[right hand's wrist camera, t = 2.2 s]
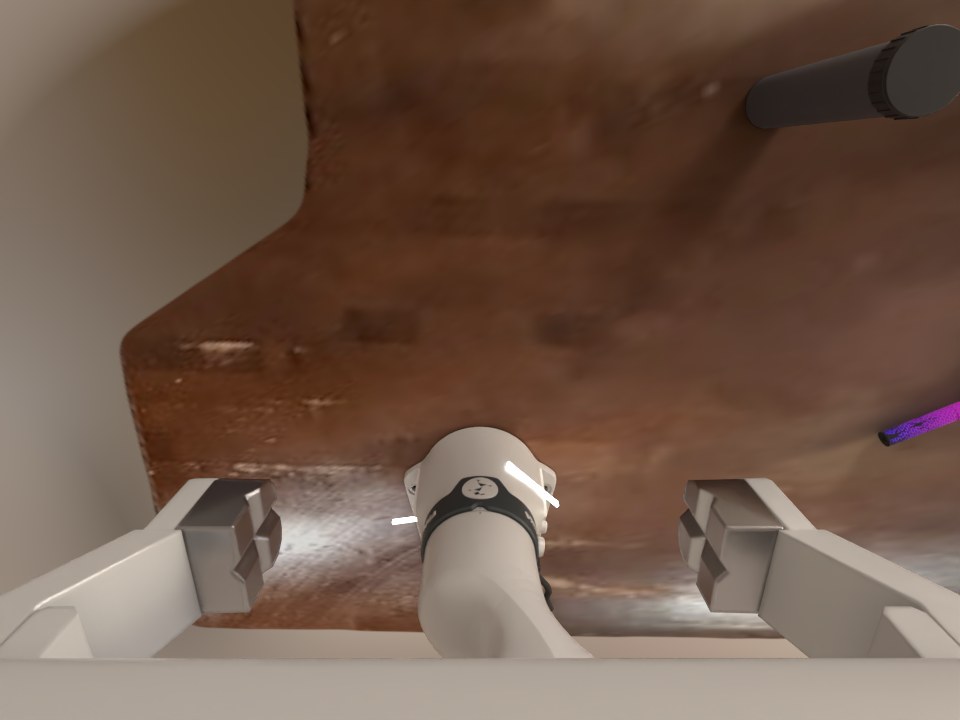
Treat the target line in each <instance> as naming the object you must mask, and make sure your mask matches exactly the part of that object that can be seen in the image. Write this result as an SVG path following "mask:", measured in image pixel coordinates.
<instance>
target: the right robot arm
mask: <svg viewBox="0 0 960 720" xmlns="http://www.w3.org/2000/svg"><path fill="white" fill-rule="evenodd" d="M404 485H405V488H406V491H407V495H408V498H409V502H410V505H411V509H412V512H413V517H406V518H399V519H393V520H392V525H393V524H401V523H408V522H416V526H417V529H418V533H419V536H420V539H421V545H422V546H421V557H422V563H423V569H422V577H421V584H420V591H419V598H418V616H419V620H420V624H421V627H422V629H423V631H424V633H425V635H426V637H427V638H428V640H429V641H430V643H431V644H432V646H433V647H434V649H435V650H436V651H437V652H438V653H439V654H440V655H441V656H442V657H443V658H151V657H152V656H154V655H155V654H156V653H157V652H159V651H160V650H161V649H162V648H163V647H165V646H166V645H167V644H168V643H169V642H171V641H172V640H173V639H174V638H175V637H177V636H178V635H179V634H180V633H181V632H183V631H184V630H185V629H186V628H188V627H189V626H190V625H191V624H193V623H194V622H195V621H196V620H197V619H199V618H200V617H201V616H202V614H201V613H233V612H250V610H251V608H252V606H253V604H254V602H255V600H256V598H257V596H258V594H259V593H260V591H261V589H262V587H263V585H264V582H263V576H262V574H263V573H264V572H266V571H267V570H268V569H270V568H271V567H273V565H274V563H275V561H276V559H277V557H278V554H279V549H280V545H281V540H282V527H281V520H280V517H279V516H278V515H277V514H276V513H275V512H274V511H273V510H272V506H273V504H274V503H275V501H276V499H277V495H276V490H275V485H274V483H273V482H272V481H271V480H270V479H227V478H220V479H218V478H195V479H191V480H188V481H187V483H186V484H185V485H184V486H183V487H182V488H181V489H180V490H179V491H178V492H177V493H176V495H175V496H174V497H173V498H172V499H171V500H170V501H169V502H168V503H167V504H166V505H165V507H164V508H163V509H162V510H161V511H160V512H159V513H158V514H157V515H156V516H155V518H154V519H153V520H152V521H151V522H150V523H149V524H148V525H147V526H146V527H145V528H144V529H143V530H133V531H131V532H129V533H127V534H125V535H123V536H121V537H119V538H117V539H115V540H113V541H111V542H109V543H106V544H104V545H102V546H100V547H98V548H96V549H94V550H92V551H90V552H88V553H86V554H84V555H82V556H80V557H77V558H76V559H73V560H71V561H69V562H67V563H65V564H63V565H61V566H59V567H57V568H55V569H53V570H51V571H49V572H46V573H44V574H42V575H40V576H38V577H36V578H34V579H32V580H30V581H28V582H26V583H24V584H22V585H20V586H18V587H15V588H13V589H11V590H9V591H7V592H5V593H3V594H1V595H0V720H960V595H959V594H957V593H955V592H953V591H950V590H948V589H946V588H944V587H942V586H940V585H938V584H936V583H934V582H932V581H930V580H928V579H926V578H924V577H922V576H919V575H917V574H915V573H913V572H911V571H909V570H907V569H905V568H903V567H901V566H899V565H897V564H895V563H893V562H891V561H889V560H886V559H884V558H882V557H880V556H878V555H876V554H874V553H872V552H870V551H868V550H866V549H864V548H862V547H860V546H858V545H856V544H853V543H851V542H849V541H847V540H845V539H843V538H841V537H839V536H837V535H835V534H833V533H831V532H829V531H827V530H817V529H816V528H815V527H814V526H813V525H812V524H811V523H810V522H809V521H808V520H807V519H806V517H805V516H804V515H803V514H802V513H801V512H800V511H799V510H798V509H797V508H796V507H795V505H794V504H793V503H792V502H791V501H790V500H789V499H788V498H787V497H786V496H785V494H784V493H783V492H782V491H781V490H780V489H779V488H778V487H777V486H776V485H775V484H774V482H773V481H771V480H769V479H767V478H747V479H721V480H688V482H687V484H686V486H685V489H684V495H683V499H684V501H685V503H686V504H687V506H688V510H687V511H686V512H685V513H684V514H683V515H682V516H681V517H680V520H679V528H678V537H679V547H680V550H681V553H682V557H683V559H684V561H685V563H686V565H687V567H689V568H690V569H692V570H693V571H695V572H696V573H697V574H698V576H697V582H696V585H697V587H698V589H699V591H700V593H701V594H702V596H703V598H704V600H705V602H706V604H707V606H708V608H709V610H710V612H726V613H759V614H758V616H759V617H760V618H762V619H763V620H764V621H765V622H766V623H768V624H769V625H770V626H771V627H773V628H774V629H775V630H776V631H777V632H779V633H780V634H781V635H782V636H783V637H785V638H786V639H787V640H788V641H789V642H791V643H792V644H793V645H794V646H796V647H797V648H798V649H799V650H800V651H802V652H803V653H804V654H805V655H806V656H808V657H809V658H595V657H594V656H593V655H591V654H590V653H589V652H587V651H586V650H585V649H584V648H583V647H582V646H580V645H579V644H578V643H577V642H576V641H575V640H574V639H573V638H572V637H571V636H570V635H569V634H568V633H567V632H566V631H565V629H564V628H563V627H562V626H561V625H560V624H559V622H558V621H557V620H556V618H555V617H554V615H553V614H552V612H551V611H553V606H552V605H551V603H550V601H549V597H550V595H551V593H552V591H551V587H550V585H549V583H548V582H547V581H546V580H545V579H544V578H543V577H542V576H541V575H540V574H539V572H540V561H539V557H541V556H543V554H544V548H545V540H544V538H543V537H540V536H541V533H546V530H547V522H546V521H545V519H546V516H547V512H548V509H549V505H550V502H551V503H552V504H553V505H555V506H556V507H558V506H559V504H558V501H557V500H556V499H554V498H553V497H552V495H553V492H554V488H555V485H556V474H555V472H554V471H553V470H552V469H550V468H549V467H547V466H546V465H544V464H542V463H540V462H538V461H537V460H536V458H535V457H534V456H533V455H532V453H531V452H530V450H529V449H528V448H527V447H526V446H525V444H524V443H522V442H521V441H520V440H519V439H517V438H516V437H514V436H513V435H511V434H509V433H507V432H505V431H502V430H499V429H495V428H489V427H471V428H465V429H461V430H458V431H455V432H453V433H451V434H449V435H447V436H446V437H444V438H443V439H441V440H440V441H439V442H438V443H436V445H435V446H434V447H433V448H432V449H431V450H430V452H429V453H428V455H427V456H426V457H425V458H424V460H423V461H422V462H420V463H418V464H416V465H415V466H413V467H411V468H410V469H408V470H407V471H406V473H405V474H404ZM413 486H416V488H414V487H413ZM544 486H547V487H546V488H544ZM541 584H542V585H543V587H544V588H545V590H546V592H545V594H543V590H542V586H541Z"/></svg>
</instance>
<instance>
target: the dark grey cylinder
mask: <svg viewBox="0 0 960 720" xmlns="http://www.w3.org/2000/svg"><path fill="white" fill-rule="evenodd" d="M890 42H891V41H890ZM890 42H886V43H883V44H879V45H876V46H872V47H869V48H865V49H862V50H858V51H855V52H851V53H848V54H844V55H840V56H837V57H833V58H830V59H826V60H823V61H819V62H816V63H812V64H809V65H805V66H802V67H798V68H795V69H791V70H788V71H784V72H781V73H777V74H774V75H770V76H767V77H764V78H763V79H761V80H759V81H758V82H757V83H756V84H755V85H754V86H753V87H752V89H751V90H750V92H749V94H748V97H747V100H746V113H747V116H748V118H749V120H750V122H751V123H752V124H753V125H755V126H757V127H759V128H763V129H768V128H778V127H788V126H798V125H808V124H817V123H827V122H837V121H847V120H857V119H866V118H876V117H885V116H884V115H882V114H880V113H877V110H876V109H875V108H874V107H873V105H871V104H872V103H871V101H870V99H869V96H868V85H867V83H868V78H869V74H870V73H869V72H870V71H871V68H872V66H873V63H874V60H875V59H876V58H877V56H878V55H879V54H880V52H881V50H882V49H884V48H885V47H886V46H887V45H888V44H889V43H890Z"/></svg>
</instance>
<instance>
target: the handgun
mask: <svg viewBox="0 0 960 720" xmlns="http://www.w3.org/2000/svg"><path fill="white" fill-rule="evenodd" d="M958 420H960V401H959V402H956V403H954V404H951V405H947V406H946V407H943V408H941V409H938V410H936V411H933V412H931V413H928V414H925V415H923V416H920V417H918V418H915V419H913V420H910V421H907V422H905V423H902V424H900V425H897V426H894V427H892V428H889V429H887V430H884V431H882V432H879V433H878V436H879V439H880V440H881V442H882V443H883V444H884V445H885V446H891V445H894V444H896V443H899V442H902V441H904V440H907V439H910V438H912V437H915V436H917V435H920V434H923V433H925V432H928V431H931V430H933V429H936V428H938V427H941V426H944V425H946V424H949V423H951V422H954V421H958Z"/></svg>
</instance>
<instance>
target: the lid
mask: <svg viewBox="0 0 960 720" xmlns="http://www.w3.org/2000/svg"><path fill="white" fill-rule="evenodd" d="M869 73H870V74H869V78H868V83H867V85H868V96H869V99H870V101H871V103H872V104H871V105H873V107H874V108H875V109H876V110H877V113H880V114H882V115H884V116H885V118H894V120H900V119H914V118H920V117H922V116H927V115H930V114H933V113H935V112H937V111H939V110H941V109H942V108H944V107H945V106H946V105H948V104H949V103H950V102H951V101H952V100H953V99H954V98H955V97H956V96H957V95H958V93H959V92H960V30H958V29H957V28H955V27H952V26H950V25H942V24H938V25H932V26H929V25H927V26H923V27H920V28H917V29H913V30H912V31H908V32H905V33H902V34H901V36H899V37H897V38H895V39H893V40H891V42H890V43H889V44H888V45H887V46H886V47H885V48H884V49H882V50H881V52H880V54H879V55H878V56H877V58H876V59H875V60H874V63H873V66H872V68H871V71H870V72H869Z"/></svg>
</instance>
